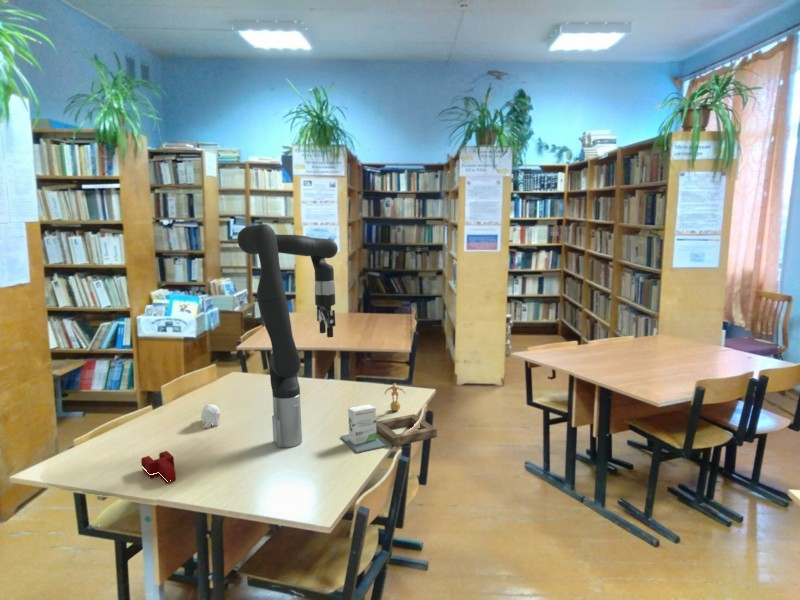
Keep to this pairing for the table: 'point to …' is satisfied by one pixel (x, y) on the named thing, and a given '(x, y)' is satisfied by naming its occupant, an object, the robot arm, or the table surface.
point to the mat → (364, 444)
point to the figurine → (395, 404)
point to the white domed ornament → (210, 415)
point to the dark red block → (160, 467)
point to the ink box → (362, 424)
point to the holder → (395, 439)
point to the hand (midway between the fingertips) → (326, 335)
